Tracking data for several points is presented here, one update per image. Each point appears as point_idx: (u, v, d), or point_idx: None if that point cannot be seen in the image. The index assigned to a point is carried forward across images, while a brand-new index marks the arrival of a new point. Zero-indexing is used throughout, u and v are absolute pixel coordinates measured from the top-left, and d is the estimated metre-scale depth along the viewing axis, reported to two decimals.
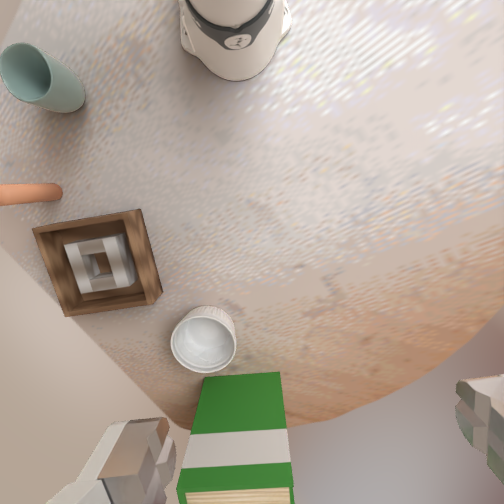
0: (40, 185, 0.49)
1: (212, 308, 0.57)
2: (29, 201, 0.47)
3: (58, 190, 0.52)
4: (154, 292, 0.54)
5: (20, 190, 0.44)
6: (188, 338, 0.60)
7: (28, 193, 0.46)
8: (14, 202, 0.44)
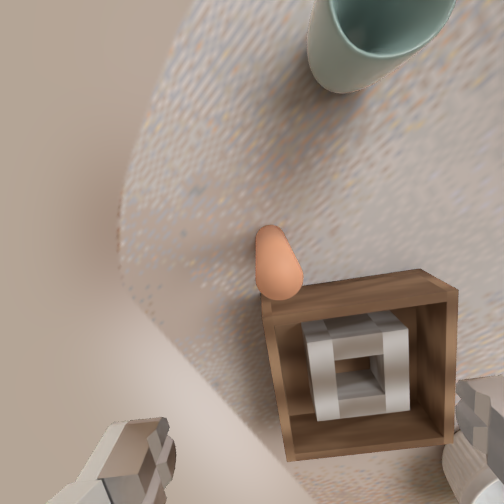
0: (282, 235, 0.25)
1: None
2: None
3: None
4: None
5: None
6: None
7: None
8: None
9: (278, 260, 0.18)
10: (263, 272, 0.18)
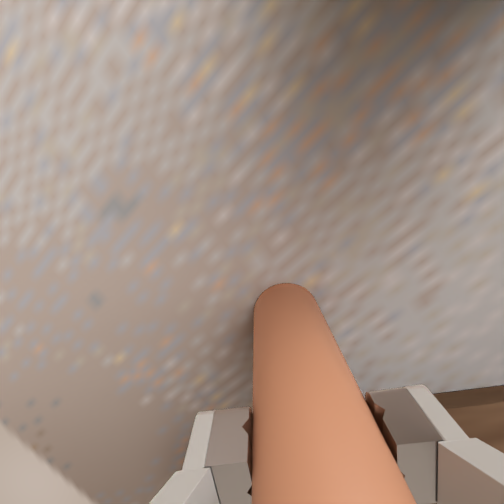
0: (329, 341, 0.09)
1: None
2: None
3: None
4: None
5: None
6: None
7: None
8: None
9: None
10: None
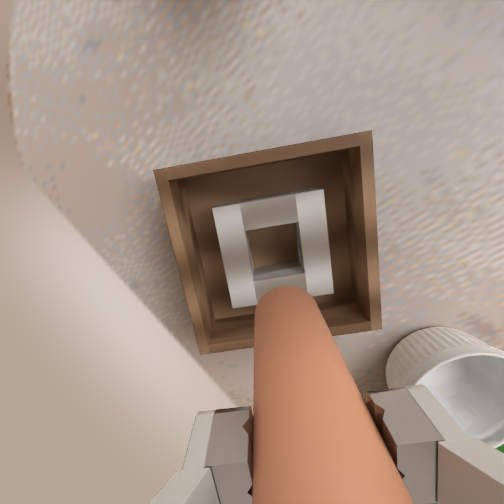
0: (330, 344, 0.09)
1: (461, 332, 0.31)
2: None
3: None
4: None
5: None
6: None
7: None
8: None
9: None
10: None
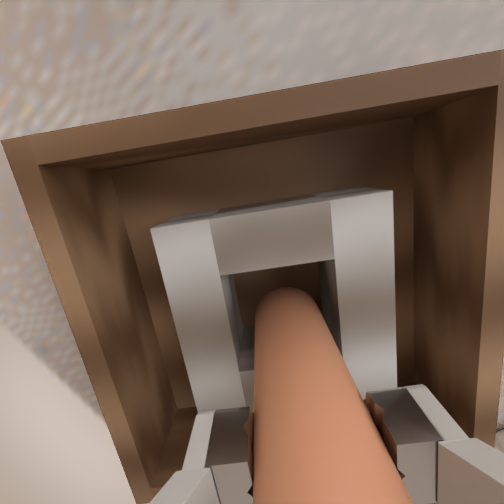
0: (330, 346, 0.09)
1: None
2: None
3: None
4: None
5: None
6: None
7: None
8: None
9: None
10: None
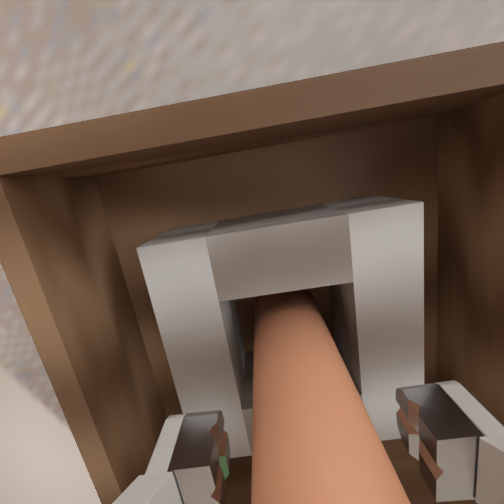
0: (322, 330, 0.10)
1: None
2: None
3: None
4: None
5: (410, 503, 0.05)
6: None
7: None
8: None
9: None
10: None
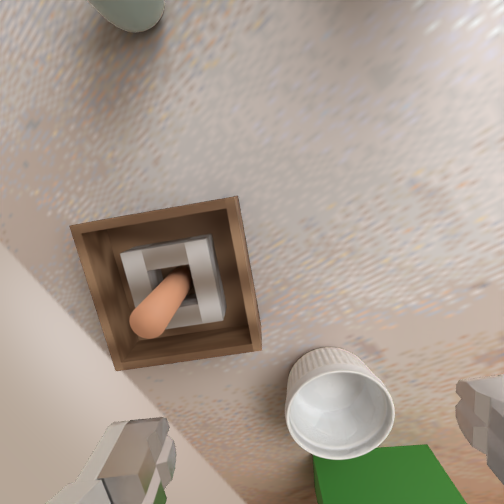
0: (179, 279, 0.31)
1: (343, 352, 0.36)
2: None
3: None
4: (259, 329, 0.34)
5: (171, 303, 0.26)
6: (297, 397, 0.39)
7: (177, 304, 0.28)
8: None
9: (145, 309, 0.24)
10: (135, 318, 0.24)
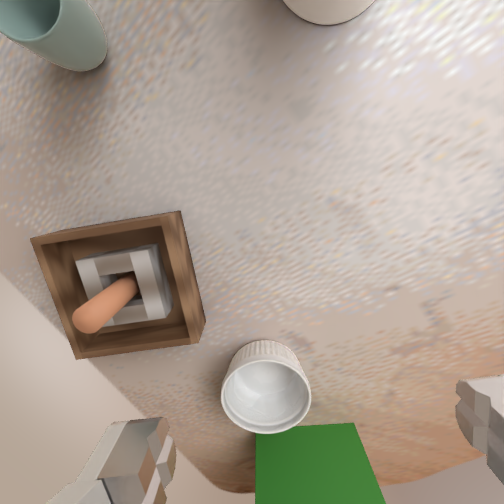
0: (126, 283, 0.37)
1: (274, 345, 0.42)
2: None
3: None
4: (198, 325, 0.40)
5: (111, 304, 0.32)
6: (238, 382, 0.45)
7: (118, 304, 0.33)
8: None
9: (84, 309, 0.29)
10: (76, 317, 0.29)
